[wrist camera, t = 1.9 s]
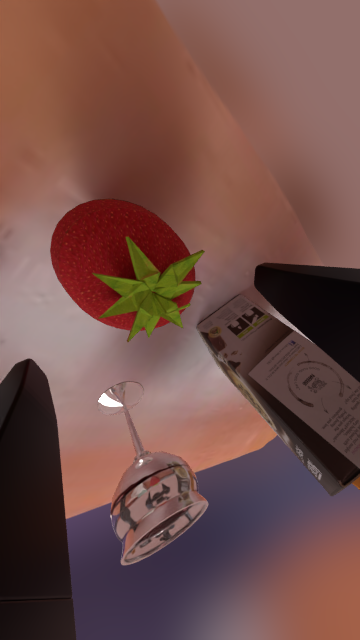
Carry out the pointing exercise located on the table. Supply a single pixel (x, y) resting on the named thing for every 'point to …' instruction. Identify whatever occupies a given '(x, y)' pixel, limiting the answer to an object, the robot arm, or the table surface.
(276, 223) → the table surface
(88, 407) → the table surface
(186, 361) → the table surface
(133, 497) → the wineglass
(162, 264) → the strawberry
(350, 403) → the coffee box
